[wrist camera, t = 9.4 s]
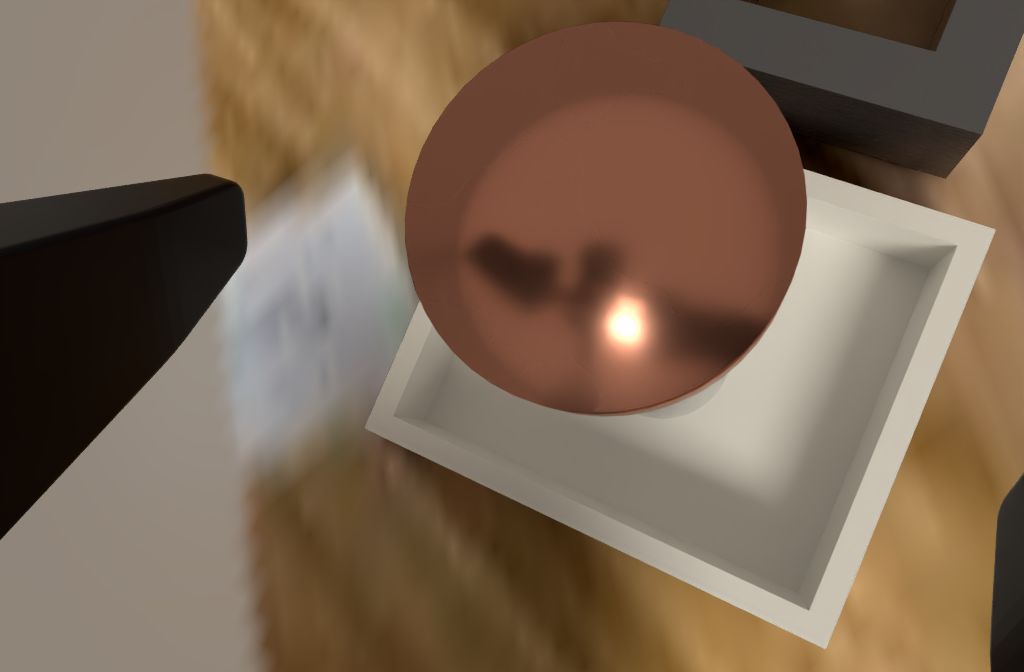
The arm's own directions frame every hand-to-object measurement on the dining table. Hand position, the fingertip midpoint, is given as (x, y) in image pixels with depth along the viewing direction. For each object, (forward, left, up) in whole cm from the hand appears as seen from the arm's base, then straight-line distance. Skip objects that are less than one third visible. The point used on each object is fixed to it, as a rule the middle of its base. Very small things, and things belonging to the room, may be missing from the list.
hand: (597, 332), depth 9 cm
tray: (+1, +1, -14) cm, 14 cm away
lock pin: (+1, +1, -13) cm, 13 cm away
